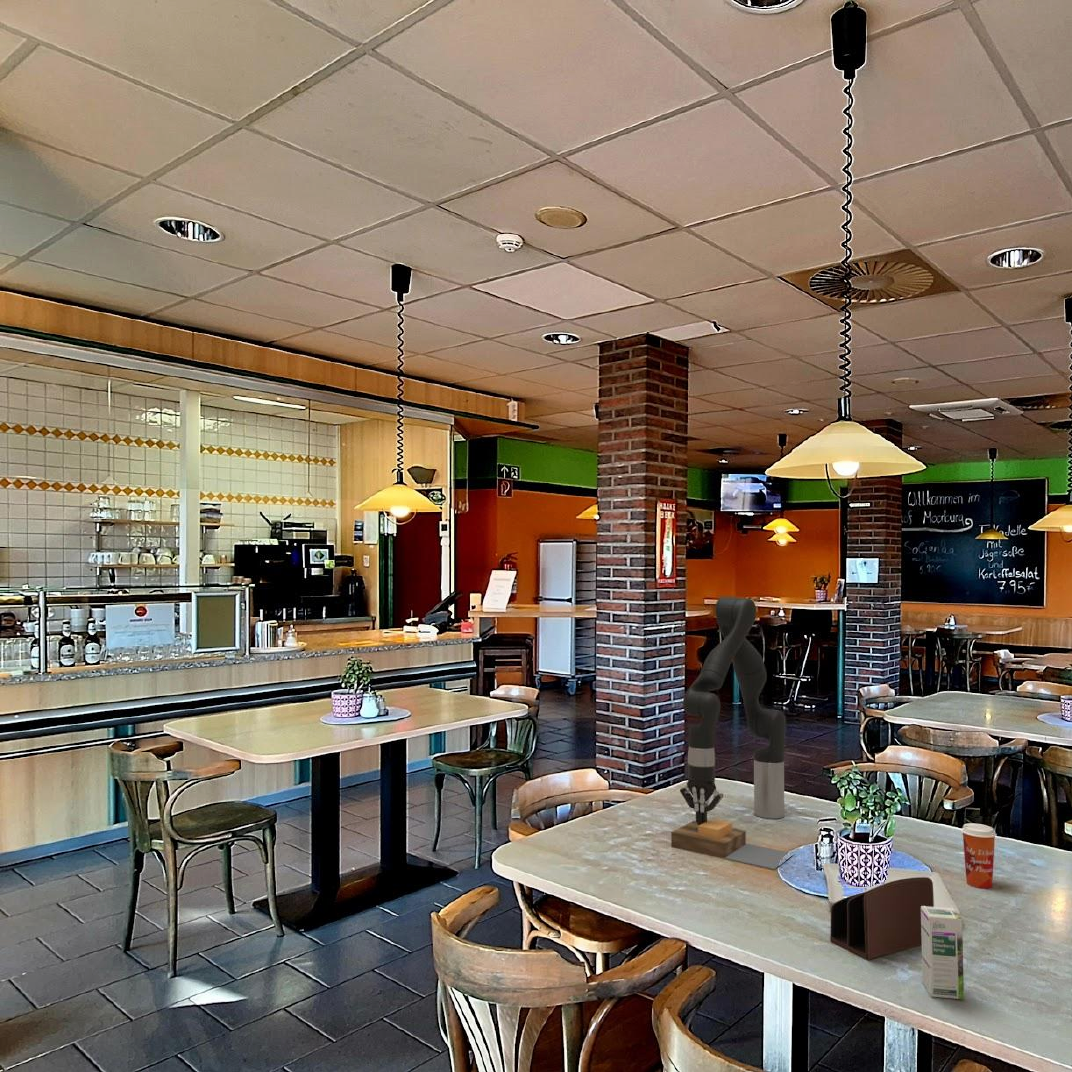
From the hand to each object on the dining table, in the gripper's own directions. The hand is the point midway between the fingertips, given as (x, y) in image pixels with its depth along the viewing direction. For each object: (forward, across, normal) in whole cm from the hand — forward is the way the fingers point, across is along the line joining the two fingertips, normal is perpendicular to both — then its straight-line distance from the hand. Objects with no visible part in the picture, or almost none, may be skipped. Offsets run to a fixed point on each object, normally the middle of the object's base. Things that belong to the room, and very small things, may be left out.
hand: (701, 824), depth 239 cm
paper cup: (+6, -68, -15) cm, 70 cm away
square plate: (+6, -52, +9) cm, 53 cm away
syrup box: (+6, -73, +49) cm, 88 cm away
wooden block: (+6, -2, 0) cm, 6 cm away
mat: (+6, -17, 0) cm, 18 cm away
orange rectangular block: (0, -4, 0) cm, 4 cm away
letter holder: (+6, -58, +34) cm, 68 cm away
